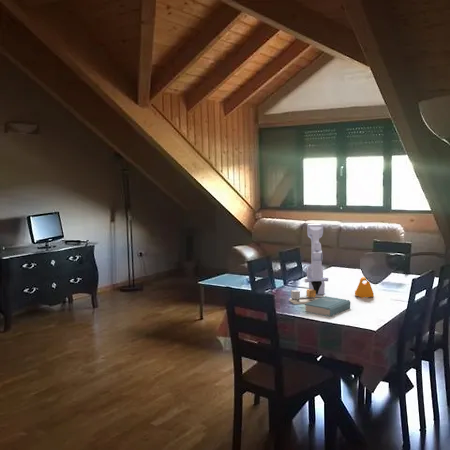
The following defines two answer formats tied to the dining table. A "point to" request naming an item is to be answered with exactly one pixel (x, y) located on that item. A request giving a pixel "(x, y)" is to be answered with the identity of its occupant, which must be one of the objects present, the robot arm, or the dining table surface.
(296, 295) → the pitch plate
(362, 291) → the bracket
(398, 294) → the dining table surface
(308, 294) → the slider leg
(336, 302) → the book
